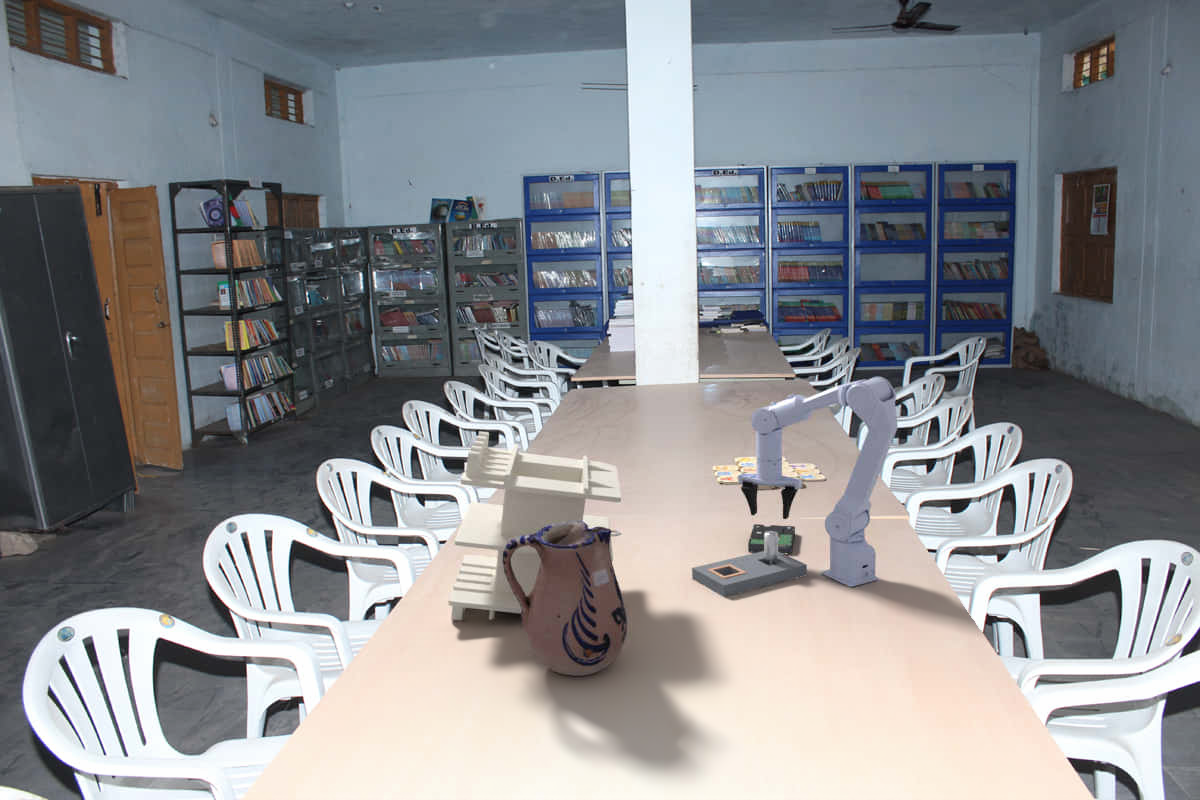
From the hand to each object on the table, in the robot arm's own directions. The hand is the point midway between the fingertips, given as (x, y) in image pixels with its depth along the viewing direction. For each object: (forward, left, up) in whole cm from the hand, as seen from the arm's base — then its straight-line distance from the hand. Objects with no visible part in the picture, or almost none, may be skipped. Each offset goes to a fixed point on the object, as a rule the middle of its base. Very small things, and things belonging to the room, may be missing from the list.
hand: (769, 516), depth 209 cm
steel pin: (-7, +5, -10) cm, 13 cm away
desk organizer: (+7, +55, -11) cm, 56 cm away
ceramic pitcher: (-24, +63, -10) cm, 68 cm away
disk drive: (+8, -7, -11) cm, 15 cm away
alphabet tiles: (+59, -45, -11) cm, 75 cm away
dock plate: (-7, +11, -10) cm, 17 cm away
